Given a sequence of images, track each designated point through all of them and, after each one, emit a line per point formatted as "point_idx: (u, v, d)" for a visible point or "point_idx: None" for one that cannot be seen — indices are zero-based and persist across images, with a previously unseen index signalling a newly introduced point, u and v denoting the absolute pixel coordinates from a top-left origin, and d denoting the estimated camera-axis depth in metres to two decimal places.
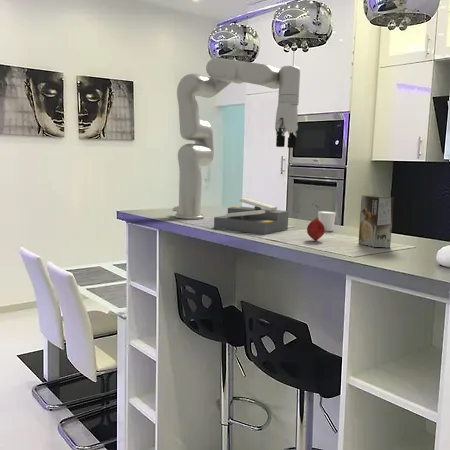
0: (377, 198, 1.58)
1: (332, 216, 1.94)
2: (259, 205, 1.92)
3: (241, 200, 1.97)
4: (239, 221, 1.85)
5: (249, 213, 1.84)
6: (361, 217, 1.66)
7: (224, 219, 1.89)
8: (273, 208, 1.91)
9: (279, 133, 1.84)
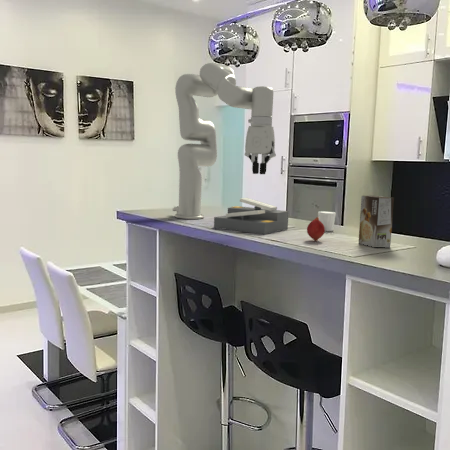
0: (377, 198, 1.58)
1: (332, 216, 1.94)
2: (259, 205, 1.92)
3: (241, 200, 1.97)
4: (239, 221, 1.85)
5: (249, 213, 1.84)
6: (361, 217, 1.66)
7: (224, 219, 1.89)
8: (273, 208, 1.91)
9: (267, 161, 1.81)
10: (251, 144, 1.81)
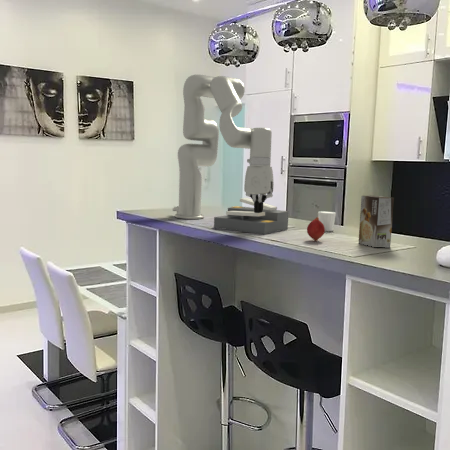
0: (377, 198, 1.58)
1: (332, 216, 1.94)
2: None
3: (241, 200, 1.97)
4: (239, 221, 1.85)
5: (249, 214, 1.84)
6: (361, 217, 1.66)
7: (224, 219, 1.89)
8: (273, 208, 1.91)
9: (264, 200, 1.84)
10: (250, 184, 1.83)
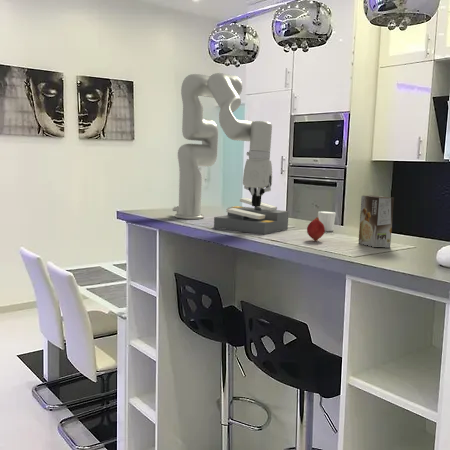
0: (377, 198, 1.58)
1: (332, 216, 1.94)
2: None
3: (241, 200, 1.97)
4: (239, 221, 1.85)
5: (249, 216, 1.85)
6: (361, 217, 1.66)
7: (224, 219, 1.89)
8: (273, 208, 1.91)
9: (262, 194, 1.84)
10: (249, 177, 1.83)
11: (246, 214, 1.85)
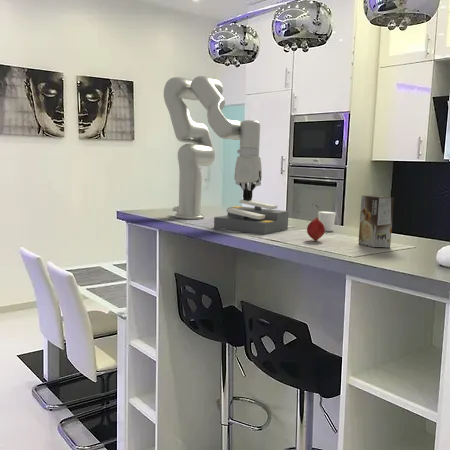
0: (377, 198, 1.58)
1: (332, 216, 1.94)
2: (259, 205, 1.92)
3: (241, 201, 1.97)
4: (239, 221, 1.85)
5: (249, 216, 1.85)
6: (361, 217, 1.66)
7: (224, 219, 1.89)
8: (273, 207, 1.91)
9: (253, 188, 1.96)
10: (240, 173, 1.95)
11: (246, 214, 1.85)
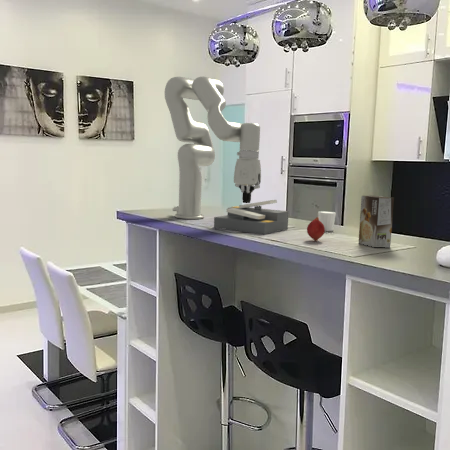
0: (377, 198, 1.58)
1: (332, 216, 1.94)
2: (258, 203, 1.92)
3: (240, 206, 1.97)
4: (239, 221, 1.85)
5: (249, 216, 1.85)
6: (361, 217, 1.66)
7: (224, 219, 1.89)
8: (273, 201, 1.91)
9: (252, 191, 1.97)
10: (239, 175, 1.96)
11: (246, 214, 1.85)
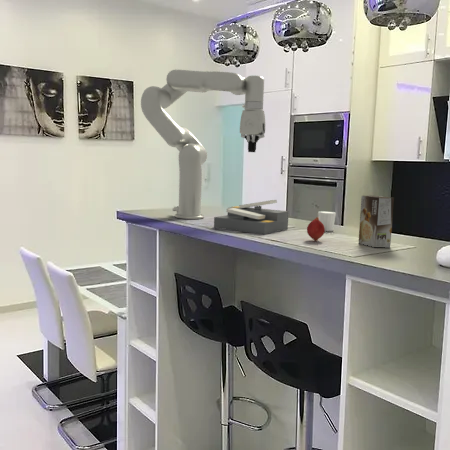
0: (377, 198, 1.58)
1: (332, 216, 1.94)
2: (258, 203, 1.92)
3: (240, 206, 1.97)
4: (239, 221, 1.85)
5: (249, 216, 1.85)
6: (361, 217, 1.66)
7: (224, 219, 1.89)
8: (273, 201, 1.91)
9: (257, 140, 2.09)
10: (245, 126, 2.08)
11: (246, 214, 1.85)
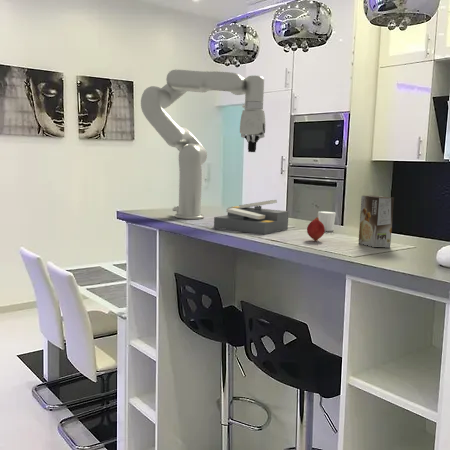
0: (377, 198, 1.58)
1: (332, 216, 1.94)
2: (258, 203, 1.92)
3: (240, 206, 1.97)
4: (239, 221, 1.85)
5: (249, 216, 1.85)
6: (361, 217, 1.66)
7: (224, 219, 1.89)
8: (273, 201, 1.91)
9: (257, 140, 2.09)
10: (245, 126, 2.08)
11: (246, 214, 1.85)
